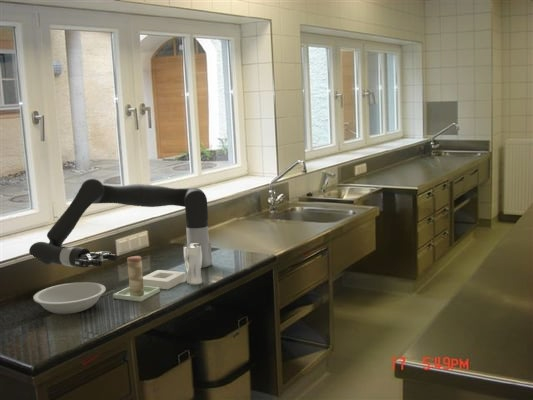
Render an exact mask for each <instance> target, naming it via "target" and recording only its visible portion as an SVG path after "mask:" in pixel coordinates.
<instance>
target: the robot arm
mask: <svg viewBox="0 0 533 400" xmlns="http://www.w3.org/2000/svg"><path fill="white" fill-rule="evenodd" d="M207 198H208V197H207V195H206V194H205V192H204V191H203V190H202V189H200V188H197V187H189V188H188V187H187V188H181V187H180V188H178V187H177V188H173V187H167V186H163V185H161V186H160V185H152V184H141V183H140V184H139V183H135V184H133V183H132V184H124V185H108V184H104V183H102V182H101V181H100V180H99V179H97V178H88V179H87V180H84V181H83V182H82V184H81V186H80V188H79V190H78V192H77V194H76V195H75V197H74V198H73V200H72V201H71V203H70V205H68V207H67V208H66V209H65V211H64V212H63V213H62V215H61V216H60V217H59V218H58V219H57V220H56V222H55V223H54V224H53V225H52V227H51V228H50V229H49V231H48V232H47V233H46V238H47V239H48V240H49V242H45V241H37V242H34V243H33V244H31V246H30V247H29V251H28V252H29V255H30V254H31V255H33V256H34V257H36V258H37V259H38V260H40V261H42V262H43V263H45V264H46V265H45V266H49V265H51V264H55V265H62V266H67V267H74V268H81V269H84V268H89V267H102V266H103V262H104V261H114V262H115V261H117V260H118V255H117V254H114V253H113V254H112V251H102V250H98V251H96V252H95V251H92V252H91V251H90V250H89V249H88V248H86V247H78V246H63V244H64V242H65V241H66V239H67V238H68V237H69V236H70V234H71V233H72V232H73V231H74V229H75V227H76V226H77V224H78V222H79V220H80V219H81V218H82V216H83V214H85V212H86V210H87V209H88V208H90V206H91V205H92V204H93V205H94V204H95V205H96V204H119V205H124V206H126V205H127V206H133V207H142V208H143V207H144V208H145V207H146V208H155V207H156V208H159V207H166V206H167V207H168V206H176V207H183V208H185V209H184V210H185V211H184V212H185V230H186V243H187V244H193V243H196V244H200V245H201V251H202V265H201V269H203V268H207V267H209V266H212V265H213V260H212V259H213V257H212V256H213V255H212V243H211V242H210V240H209V223H208V222H209V220H208V219H209V214H208V213H209V212H208V211H209V209H208V199H207Z"/></svg>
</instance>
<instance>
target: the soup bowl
mask: <svg viewBox="0 0 533 400" xmlns="http://www.w3.org/2000/svg"><path fill="white" fill-rule="evenodd" d="M106 290H107V287H106V286H105V285H103V284H101V283H99V282H91V281H90V282H89V281H84V282H83V281H80V282H77V281H76V282H68V283H61V284H57V285H53V286H50V287H46V288H45V289H42V290H39V291H37V292H36V293H35V294H34V295H33V296H32V297H33V299H32V300H33V301H34V302H35V303H38V304H39V305H40V306H41V307H43V308H44V309H45V310H46V311H48V312H50V313H53V314H59V315H67V314H68V315H69V314H75V313H80V312H83V311H86V310H87V309H90V308H91V307H93V306H94V305H95V304H96V303H97V302H98V301H99V300H100V298H101V296H102V295H103V294H104V293H105V292H106Z"/></svg>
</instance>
